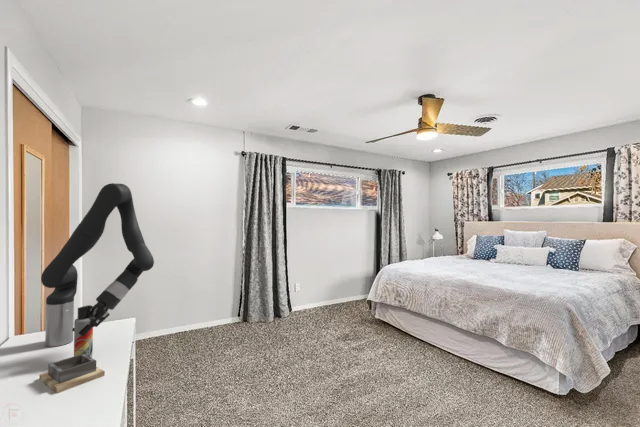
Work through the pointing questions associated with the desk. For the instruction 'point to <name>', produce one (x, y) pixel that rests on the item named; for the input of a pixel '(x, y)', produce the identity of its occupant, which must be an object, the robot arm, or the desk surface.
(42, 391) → the desk surface
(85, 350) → the lotion bottle
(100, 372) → the socket board
